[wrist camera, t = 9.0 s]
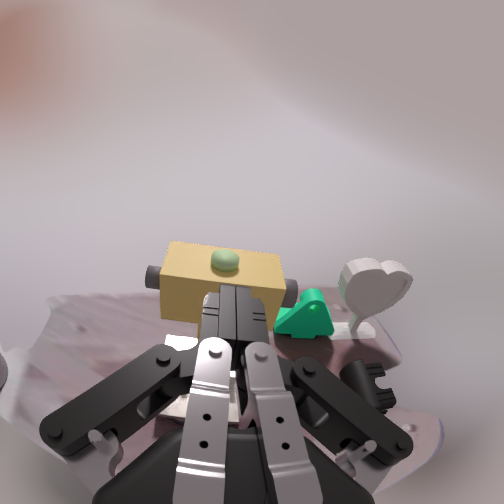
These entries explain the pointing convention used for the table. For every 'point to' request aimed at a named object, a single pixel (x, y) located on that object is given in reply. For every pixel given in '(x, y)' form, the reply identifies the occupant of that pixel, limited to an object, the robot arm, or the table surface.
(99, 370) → the table surface
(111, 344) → the table surface
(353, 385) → the end cap
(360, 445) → the robot arm
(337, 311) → the table surface
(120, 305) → the table surface
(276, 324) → the camera mount
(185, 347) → the grey metal base plate
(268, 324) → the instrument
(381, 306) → the heart sculpture
